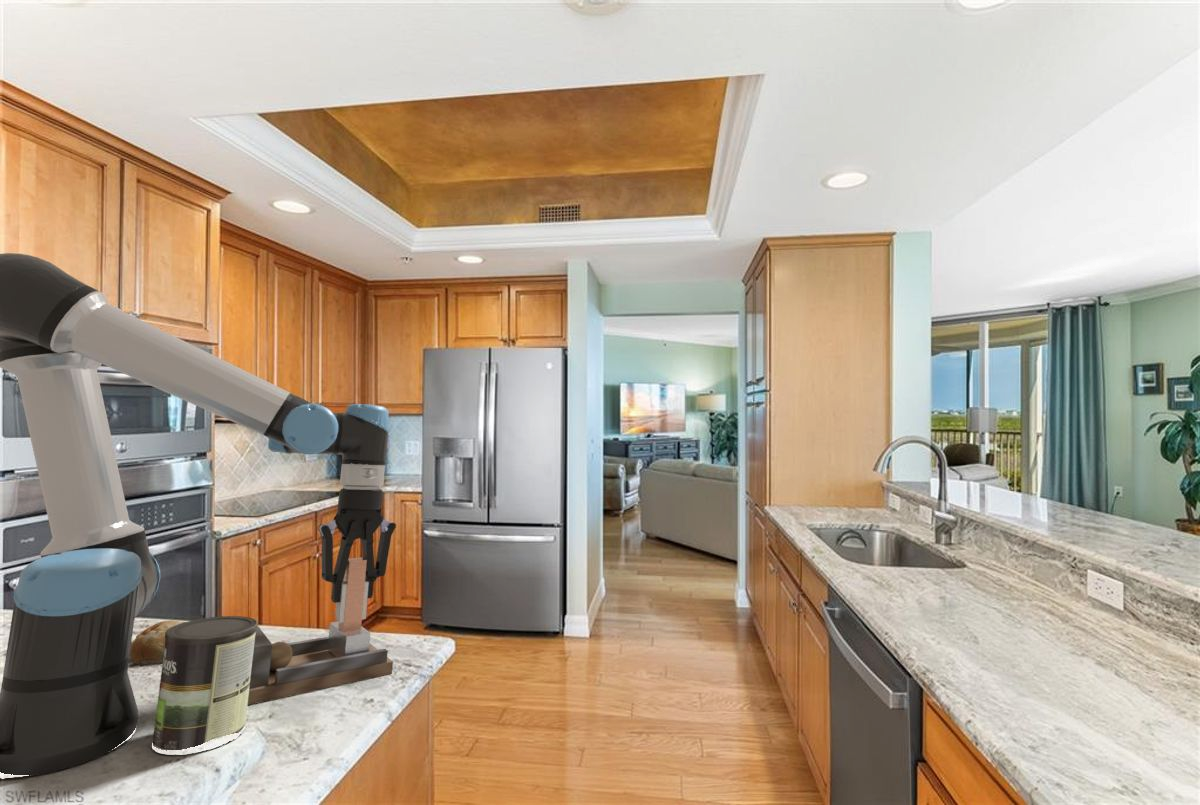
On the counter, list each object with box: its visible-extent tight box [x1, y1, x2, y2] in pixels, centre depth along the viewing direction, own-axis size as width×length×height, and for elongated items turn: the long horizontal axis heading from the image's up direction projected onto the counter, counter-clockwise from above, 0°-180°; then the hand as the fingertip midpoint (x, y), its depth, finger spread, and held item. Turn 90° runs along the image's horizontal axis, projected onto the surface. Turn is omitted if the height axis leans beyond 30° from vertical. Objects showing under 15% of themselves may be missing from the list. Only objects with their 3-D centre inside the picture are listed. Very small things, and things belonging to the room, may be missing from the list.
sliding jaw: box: [327, 557, 371, 658], centre depth 99 cm, size 4×10×17 cm, turn 41°
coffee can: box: [151, 615, 259, 751], centre depth 73 cm, size 10×10×14 cm
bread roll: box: [129, 620, 185, 665], centre depth 100 cm, size 10×10×8 cm
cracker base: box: [247, 625, 394, 706], centre depth 94 cm, size 22×14×8 cm, turn 131°
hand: (350, 618), depth 98 cm, fingers closed on sliding jaw, 3 cm apart
